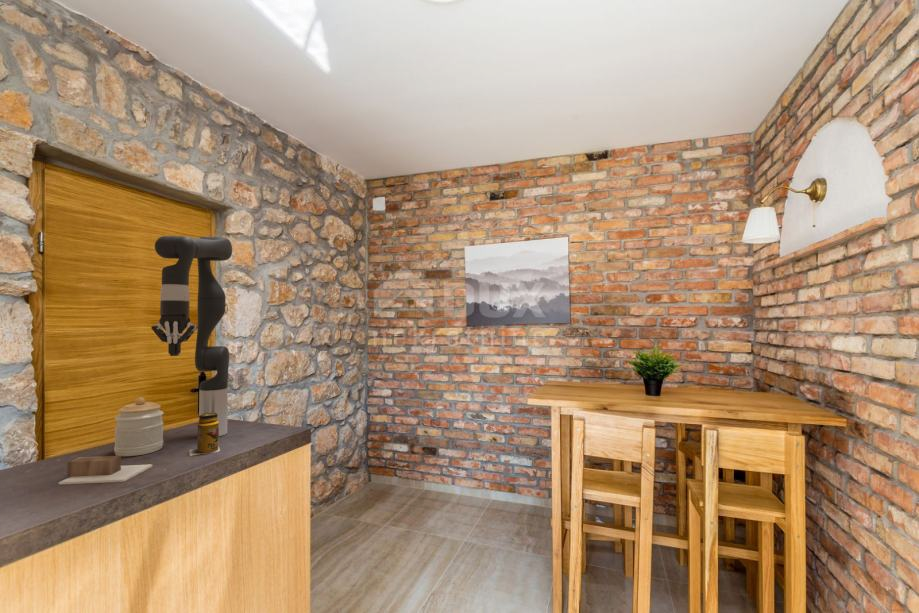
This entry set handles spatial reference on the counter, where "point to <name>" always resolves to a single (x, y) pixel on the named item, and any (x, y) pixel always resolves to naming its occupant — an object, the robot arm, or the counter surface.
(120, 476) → the mat
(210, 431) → the condiment
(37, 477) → the counter surface
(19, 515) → the counter surface
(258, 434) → the counter surface
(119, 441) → the jar
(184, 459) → the counter surface
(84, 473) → the block
